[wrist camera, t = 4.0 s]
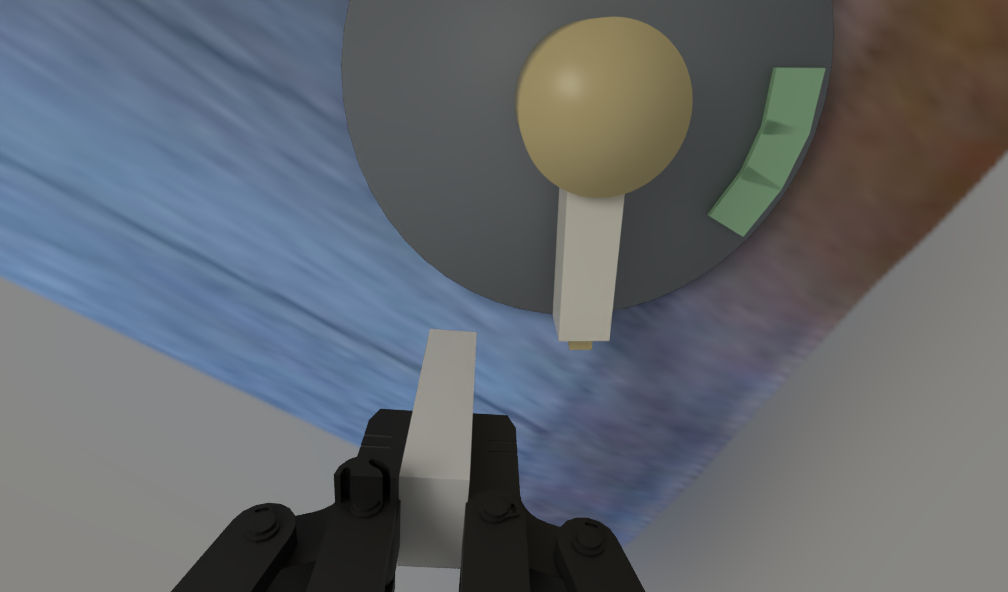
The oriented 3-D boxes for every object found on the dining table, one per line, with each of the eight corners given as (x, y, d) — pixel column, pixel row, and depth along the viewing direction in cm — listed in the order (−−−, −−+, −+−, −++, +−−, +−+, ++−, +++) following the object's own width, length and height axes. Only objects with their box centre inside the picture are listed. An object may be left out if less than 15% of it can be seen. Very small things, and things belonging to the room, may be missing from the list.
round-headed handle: (515, 18, 21) (521, 15, 18) (669, 19, 21) (706, 17, 18) (511, 320, 27) (515, 364, 23) (631, 319, 27) (654, 363, 24)
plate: (372, 305, 28) (366, 318, 26) (316, -209, 19) (303, -227, 18) (761, 302, 28) (775, 316, 27) (879, -198, 20) (909, -215, 18)
